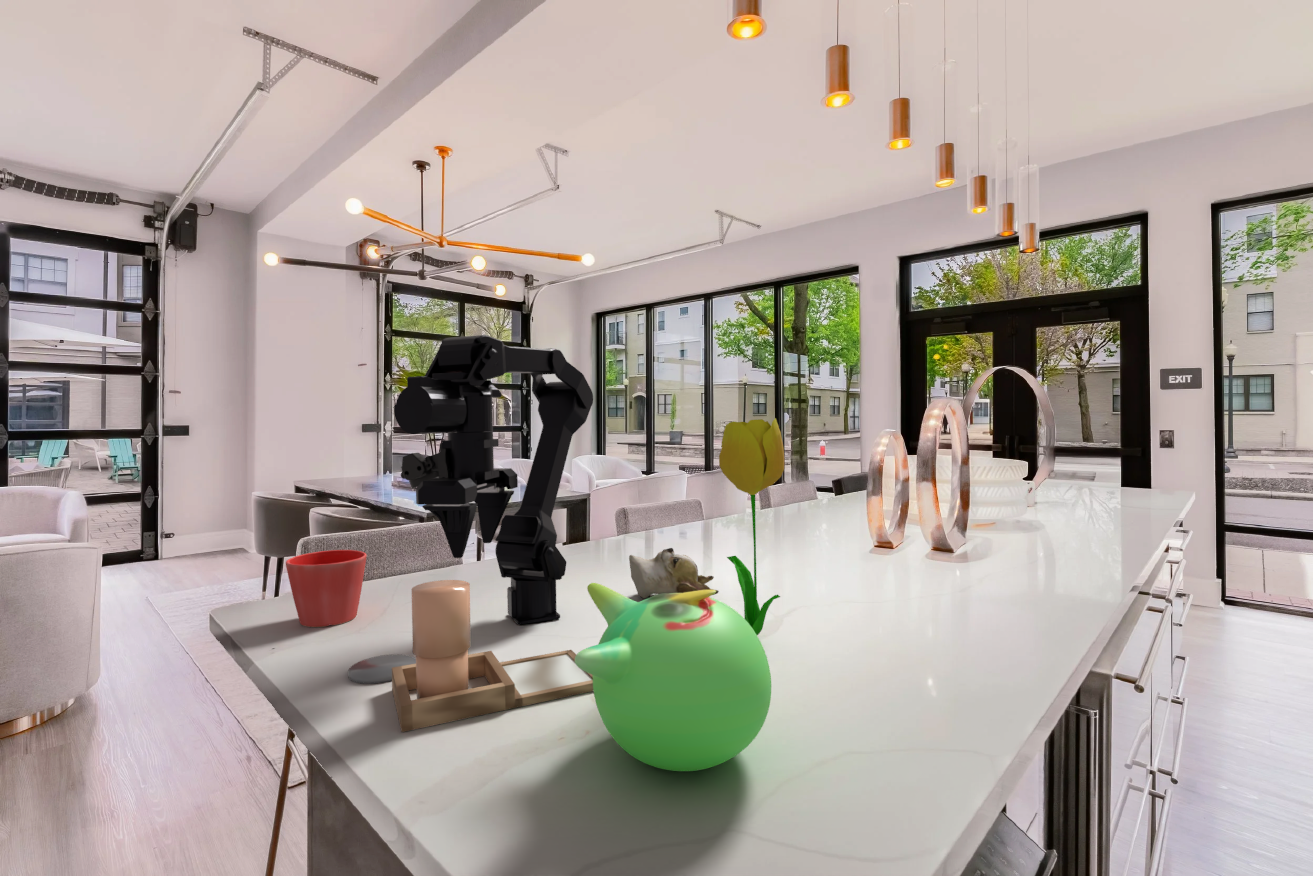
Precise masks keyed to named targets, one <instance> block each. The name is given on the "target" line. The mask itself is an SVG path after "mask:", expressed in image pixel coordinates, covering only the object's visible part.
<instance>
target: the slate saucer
mask: <svg viewBox="0 0 1313 876" xmlns="http://www.w3.org/2000/svg"><path fill="white" fill-rule="evenodd" d="M410 664H416V657H414V656H412V655H408V654H403V653H402V654H398V653H396V654H395V653H394V654H383V655H377V656H373V657H368V658H366V659H362V660H360V661H358V662H356V663H354V664H352V665H351V666H350V667H349V669H348V671H347V678H348V679H349V680H350V681H351V682H354V683H357V684H363V685H364V684H368V685H369V684H370V685H372V684H373V685H374V684H381V683H383V684H384V683H388V682H392V668H393V667H399V666H404V665H410Z"/></svg>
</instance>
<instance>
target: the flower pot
mask: <svg viewBox="0 0 1313 876" xmlns="http://www.w3.org/2000/svg"><path fill="white" fill-rule="evenodd" d="M367 556H368V555H367V553H366V552H364V551H361V550H355V549H332V550H321V551H314V552H309V553H308V552H307V553H304V554H299V555H296V556H293V557H290V558H289V559H287V560H286V561H285V567H286V573H287V577H288V580H289V585H290V590H291V595H292V599H293V602H294V605H295V608H296V613H297V617H298V620H299V623H300V625H301V626H303V627H307V628H325V627H329V626H337V625H343V624H345V623H348V622H351V621H352V620H354V619H355V618H356V617H357V615H358V609H359V605H360V600H361V594H362V588H363V581H364V577H365V576H364V575H365V570H366V563H367Z"/></svg>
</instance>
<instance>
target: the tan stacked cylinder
mask: <svg viewBox="0 0 1313 876" xmlns="http://www.w3.org/2000/svg"><path fill="white" fill-rule="evenodd" d="M470 587H471V585H470V582H467V581H466V580H459V579H442V580H434V581H428V582H423V583H420V584H417V585H415V586H413V587H412V588H411V627H412V628H411V630H412V631H411V632H412V633H411V634H412V636H411V637H412V654H413V655H414V656H415V658H416V685H417V689H416V699H420V698H426V697H431V696H436V695H441V694H446V693H451V692H456V691H461V690H467V689H470V688H469V687H470V686H469V682H470V681H469V679H468V655H469V649H470V648H471V646H472V643H471V642H472V639H471V637H472V636H471V634H472V633H471V632H472V631H471V630H472V629H471V592H470V591H471V588H470Z"/></svg>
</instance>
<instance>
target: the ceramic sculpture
mask: <svg viewBox="0 0 1313 876" xmlns="http://www.w3.org/2000/svg"><path fill="white" fill-rule="evenodd" d="M628 559H629V567H630V568H629V569H630V577H631V579H632V581H633V583H634V586H635V587H634V588H635V589H636V592H637V594H638V596H639V597H640V598H642V599H648V598H649V596H650V597H651V596H652V595H658V594H663V593H668V594H669V593H685V592H692V591H699V590H714V589H713V588H710V587H709V585H707V583H710V582H711V581H712V580H713V579H714V578H715V577H714V576H712V575H708V576H705V575H703V574H700V575H699V570H698V566H697V564H696V562H695V561H694V560H693V559H692V558H691V557H689V555H686V554H675V551H674V548H673V547H669V548H665V549H662V550H661V551H659V552H658V553H657V555H656V556H655V557H653V558H651V559H648V558H644V557H640V556H635V555H633V554H630V555H629V557H628ZM715 590H716V593H715V594H713V595H712V596H714V595H717V594H719V590H717V589H715Z"/></svg>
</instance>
